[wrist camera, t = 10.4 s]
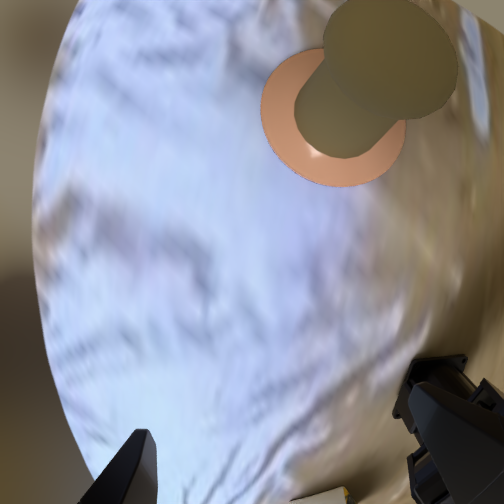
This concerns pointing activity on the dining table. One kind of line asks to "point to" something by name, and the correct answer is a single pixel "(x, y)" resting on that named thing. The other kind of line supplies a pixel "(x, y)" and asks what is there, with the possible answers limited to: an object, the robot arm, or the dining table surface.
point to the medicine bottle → (328, 497)
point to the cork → (374, 75)
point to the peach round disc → (302, 153)
